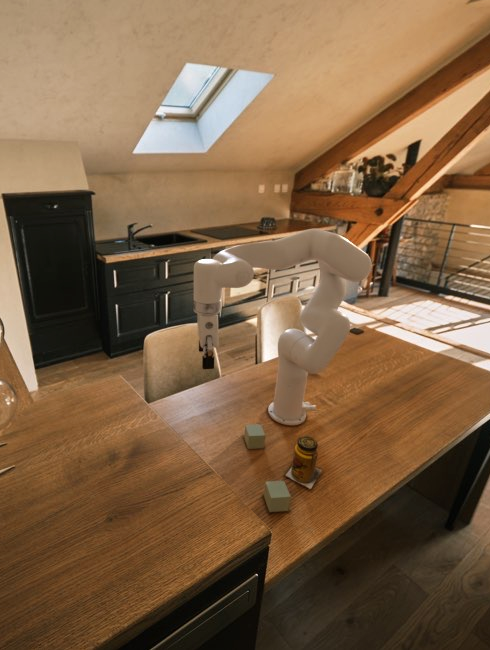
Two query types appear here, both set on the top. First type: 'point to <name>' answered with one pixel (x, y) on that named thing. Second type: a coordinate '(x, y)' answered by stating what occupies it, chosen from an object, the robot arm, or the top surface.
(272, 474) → the top surface
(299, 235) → the robot arm
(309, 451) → the condiment
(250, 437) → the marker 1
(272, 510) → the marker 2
